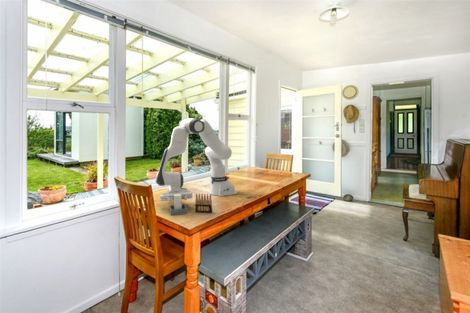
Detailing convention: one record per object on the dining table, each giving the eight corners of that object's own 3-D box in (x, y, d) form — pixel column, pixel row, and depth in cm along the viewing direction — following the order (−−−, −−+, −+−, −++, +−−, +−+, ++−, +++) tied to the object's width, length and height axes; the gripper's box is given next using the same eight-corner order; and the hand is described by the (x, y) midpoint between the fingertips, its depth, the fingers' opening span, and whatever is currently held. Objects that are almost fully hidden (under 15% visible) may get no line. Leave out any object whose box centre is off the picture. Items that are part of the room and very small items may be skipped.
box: (184, 208, 165) (184, 204, 165) (187, 213, 156) (187, 208, 155) (169, 210, 162) (169, 205, 161) (170, 215, 152) (170, 210, 152)
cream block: (180, 209, 161) (180, 193, 160) (181, 211, 157) (181, 195, 156) (174, 209, 160) (173, 194, 159) (175, 211, 156) (174, 196, 155)
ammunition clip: (195, 212, 158) (194, 193, 156) (196, 211, 160) (195, 192, 158) (211, 213, 156) (211, 194, 155) (212, 212, 158) (212, 193, 156)
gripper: (158, 190, 166) (160, 196, 153) (189, 188, 173) (193, 192, 160) (159, 200, 166) (160, 206, 154) (190, 197, 174) (194, 202, 161)
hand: (177, 199), depth 157 cm, fingers open, 8 cm apart
